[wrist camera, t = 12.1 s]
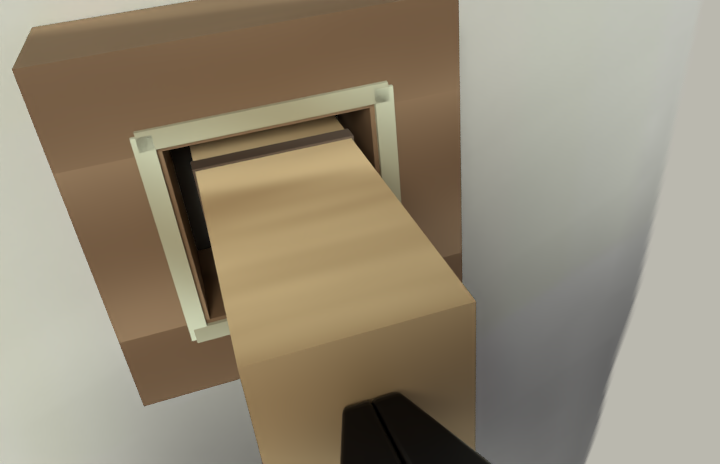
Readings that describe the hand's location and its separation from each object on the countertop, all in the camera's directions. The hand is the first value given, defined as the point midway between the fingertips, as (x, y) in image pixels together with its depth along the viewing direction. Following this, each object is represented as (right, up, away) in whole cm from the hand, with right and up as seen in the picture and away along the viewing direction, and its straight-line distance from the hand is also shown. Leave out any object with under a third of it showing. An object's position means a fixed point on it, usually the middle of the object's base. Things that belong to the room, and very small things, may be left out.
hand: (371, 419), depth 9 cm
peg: (-3, +4, +7) cm, 9 cm away
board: (-3, +4, +7) cm, 9 cm away
